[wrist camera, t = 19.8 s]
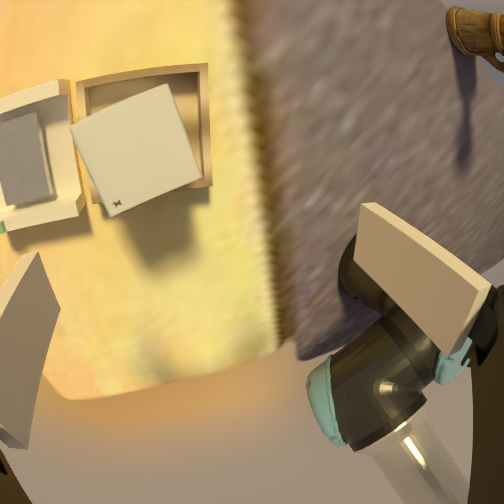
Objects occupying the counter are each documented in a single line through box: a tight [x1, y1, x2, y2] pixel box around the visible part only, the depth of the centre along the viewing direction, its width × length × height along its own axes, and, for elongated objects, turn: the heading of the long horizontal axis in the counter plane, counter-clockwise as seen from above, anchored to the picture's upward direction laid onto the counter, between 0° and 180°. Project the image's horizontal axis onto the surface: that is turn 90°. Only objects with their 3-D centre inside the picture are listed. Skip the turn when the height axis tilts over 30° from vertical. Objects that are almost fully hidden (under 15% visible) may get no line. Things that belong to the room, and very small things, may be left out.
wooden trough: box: [76, 63, 213, 204], centre depth 28 cm, size 13×13×3 cm
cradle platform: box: [0, 111, 53, 206], centre depth 24 cm, size 9×6×1 cm, turn 1°
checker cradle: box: [0, 79, 86, 234], centre depth 24 cm, size 14×12×5 cm
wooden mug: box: [446, 6, 504, 73], centre depth 25 cm, size 9×14×18 cm, turn 1°
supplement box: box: [69, 84, 201, 218], centre depth 23 cm, size 7×7×13 cm
